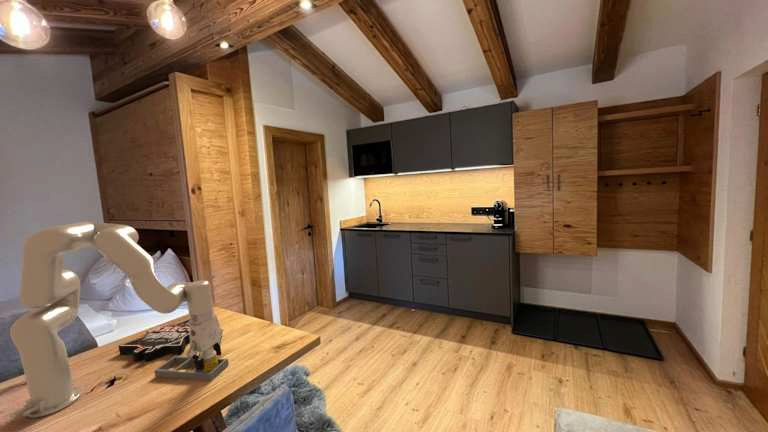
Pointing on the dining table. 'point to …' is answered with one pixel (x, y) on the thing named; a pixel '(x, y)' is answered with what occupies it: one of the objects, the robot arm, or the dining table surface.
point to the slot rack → (184, 374)
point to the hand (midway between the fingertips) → (208, 361)
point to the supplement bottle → (209, 360)
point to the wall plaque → (158, 342)
